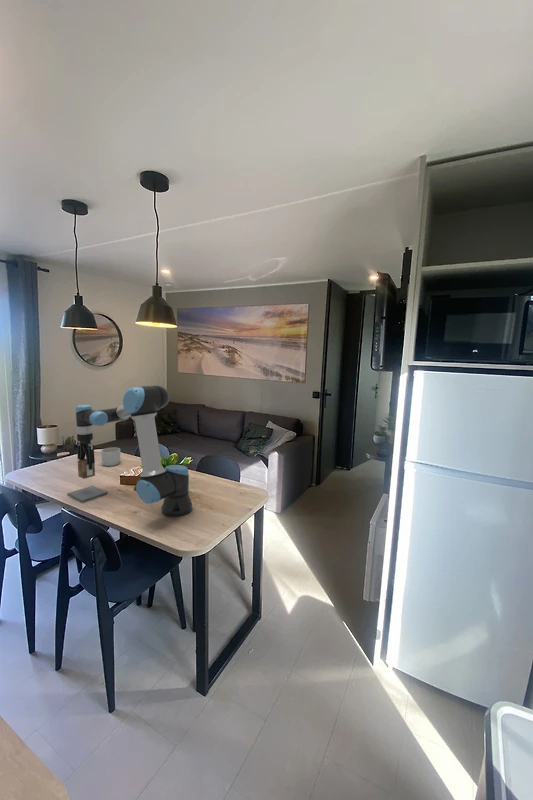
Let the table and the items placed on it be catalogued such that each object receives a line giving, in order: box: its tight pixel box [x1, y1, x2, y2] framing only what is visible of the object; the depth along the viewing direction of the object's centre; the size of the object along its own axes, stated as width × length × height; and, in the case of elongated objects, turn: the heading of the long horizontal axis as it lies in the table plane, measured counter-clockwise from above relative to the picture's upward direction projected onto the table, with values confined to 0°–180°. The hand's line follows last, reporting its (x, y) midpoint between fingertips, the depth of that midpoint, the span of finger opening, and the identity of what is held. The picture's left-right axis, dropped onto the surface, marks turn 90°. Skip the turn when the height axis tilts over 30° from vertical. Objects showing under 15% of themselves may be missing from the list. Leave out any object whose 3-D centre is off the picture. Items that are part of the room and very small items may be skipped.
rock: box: [133, 473, 141, 491], centre depth 192 cm, size 11×9×10 cm
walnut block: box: [77, 458, 96, 480], centre depth 178 cm, size 6×6×9 cm
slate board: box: [66, 485, 109, 504], centre depth 180 cm, size 16×14×1 cm
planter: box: [100, 447, 121, 467], centre depth 230 cm, size 12×12×11 cm
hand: (86, 473), depth 178 cm, fingers closed on walnut block, 6 cm apart
